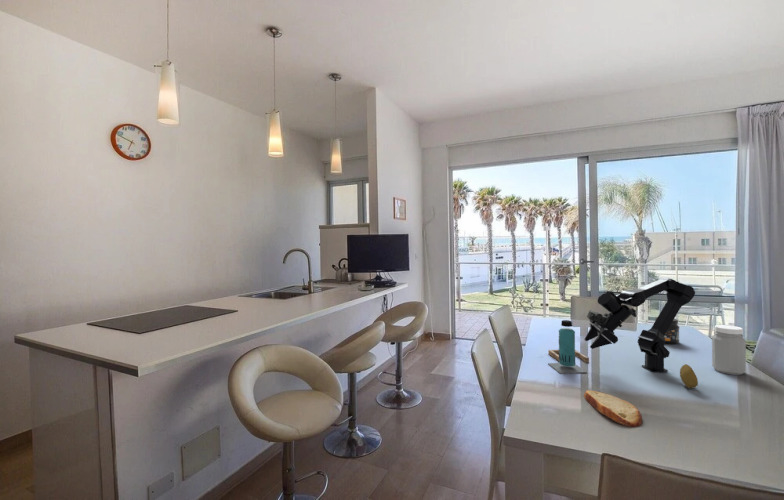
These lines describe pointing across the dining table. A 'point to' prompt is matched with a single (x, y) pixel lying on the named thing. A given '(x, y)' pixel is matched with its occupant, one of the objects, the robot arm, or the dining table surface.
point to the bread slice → (614, 408)
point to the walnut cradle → (556, 355)
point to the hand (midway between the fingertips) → (588, 344)
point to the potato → (688, 376)
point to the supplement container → (672, 333)
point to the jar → (729, 350)
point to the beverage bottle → (567, 344)
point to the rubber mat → (566, 368)
